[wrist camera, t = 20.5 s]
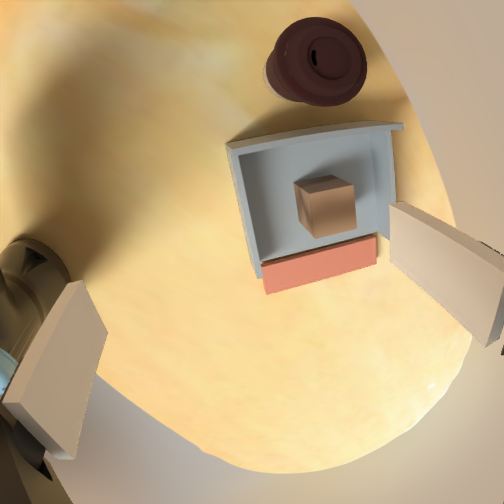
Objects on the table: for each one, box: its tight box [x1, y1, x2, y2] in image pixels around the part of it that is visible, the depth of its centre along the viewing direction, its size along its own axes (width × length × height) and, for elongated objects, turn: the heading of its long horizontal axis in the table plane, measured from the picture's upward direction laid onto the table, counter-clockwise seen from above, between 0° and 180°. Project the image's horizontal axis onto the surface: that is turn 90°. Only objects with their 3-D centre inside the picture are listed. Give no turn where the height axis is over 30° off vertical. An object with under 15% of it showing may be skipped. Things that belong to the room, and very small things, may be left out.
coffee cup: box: [263, 17, 367, 107], centre depth 32 cm, size 10×10×15 cm
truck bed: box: [225, 120, 404, 279], centre depth 41 cm, size 22×18×9 cm
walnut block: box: [293, 175, 357, 239], centre depth 42 cm, size 6×6×7 cm
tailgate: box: [261, 235, 377, 295], centre depth 50 cm, size 20×1×5 cm
